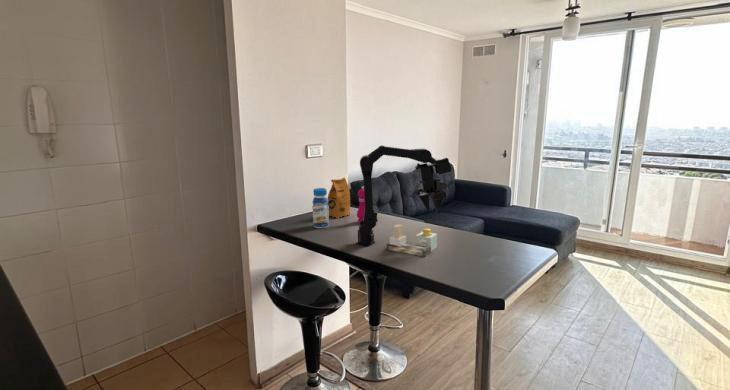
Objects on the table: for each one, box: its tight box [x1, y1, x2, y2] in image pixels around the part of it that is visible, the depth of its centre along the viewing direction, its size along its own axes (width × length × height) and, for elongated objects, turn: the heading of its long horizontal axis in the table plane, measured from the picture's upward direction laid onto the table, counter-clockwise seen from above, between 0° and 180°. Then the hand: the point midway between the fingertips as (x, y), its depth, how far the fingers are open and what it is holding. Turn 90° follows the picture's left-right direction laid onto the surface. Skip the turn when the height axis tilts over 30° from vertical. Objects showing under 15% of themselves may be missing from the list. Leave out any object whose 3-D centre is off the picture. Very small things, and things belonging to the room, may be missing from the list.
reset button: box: [422, 228, 432, 236], centre depth 168 cm, size 3×3×5 cm
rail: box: [386, 241, 432, 258], centre depth 165 cm, size 18×6×2 cm, turn 58°
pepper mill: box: [356, 185, 365, 224], centre depth 209 cm, size 7×7×20 cm
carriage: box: [389, 223, 407, 246], centre depth 167 cm, size 5×6×8 cm
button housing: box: [415, 230, 438, 252], centre depth 168 cm, size 7×7×6 cm
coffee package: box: [327, 177, 351, 219], centre depth 223 cm, size 10×12×22 cm
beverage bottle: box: [312, 187, 330, 229], centre depth 202 cm, size 8×8×20 cm
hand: (433, 211), depth 173 cm, fingers open, 9 cm apart
